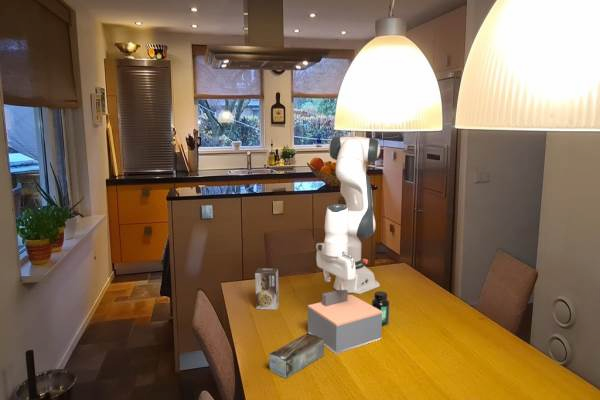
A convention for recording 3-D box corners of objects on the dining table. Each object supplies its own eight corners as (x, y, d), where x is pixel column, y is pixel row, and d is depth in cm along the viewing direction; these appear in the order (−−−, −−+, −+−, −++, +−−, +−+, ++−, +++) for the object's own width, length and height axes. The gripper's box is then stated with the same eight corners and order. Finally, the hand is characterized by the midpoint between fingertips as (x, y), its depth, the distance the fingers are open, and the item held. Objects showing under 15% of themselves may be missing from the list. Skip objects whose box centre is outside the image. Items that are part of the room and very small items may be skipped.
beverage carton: (267, 370, 141) (267, 351, 140) (307, 348, 155) (307, 330, 154) (285, 380, 136) (285, 360, 135) (325, 356, 150) (325, 337, 149)
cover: (351, 296, 174) (351, 284, 173) (382, 313, 159) (382, 300, 158) (307, 307, 164) (308, 295, 163) (336, 326, 149) (336, 313, 148)
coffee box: (279, 303, 192) (279, 268, 189) (276, 310, 186) (276, 273, 183) (258, 303, 193) (257, 267, 190) (255, 309, 187) (254, 272, 184)
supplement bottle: (387, 327, 170) (388, 297, 168) (369, 324, 173) (370, 295, 170) (389, 320, 177) (391, 291, 175) (372, 317, 179) (373, 289, 177)
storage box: (350, 320, 176) (351, 296, 174) (381, 339, 161) (382, 313, 159) (307, 332, 166) (307, 307, 164) (336, 354, 151) (336, 326, 149)
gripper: (360, 255, 156) (359, 292, 158) (327, 241, 173) (326, 275, 175) (346, 257, 152) (344, 296, 155) (313, 243, 170) (313, 278, 172)
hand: (334, 285), depth 165 cm, fingers open, 8 cm apart
